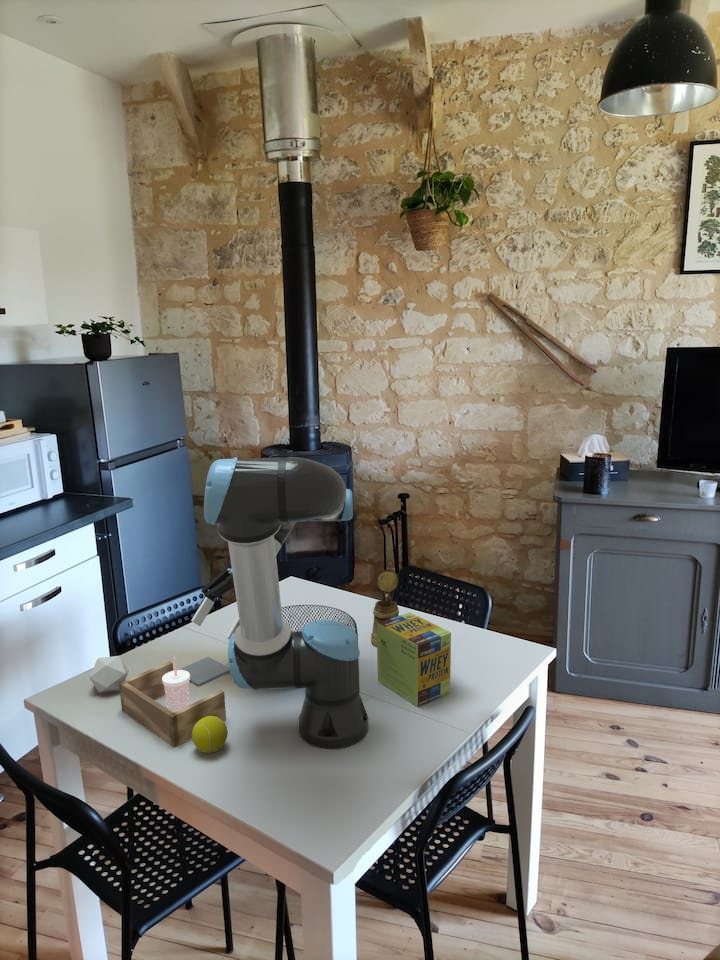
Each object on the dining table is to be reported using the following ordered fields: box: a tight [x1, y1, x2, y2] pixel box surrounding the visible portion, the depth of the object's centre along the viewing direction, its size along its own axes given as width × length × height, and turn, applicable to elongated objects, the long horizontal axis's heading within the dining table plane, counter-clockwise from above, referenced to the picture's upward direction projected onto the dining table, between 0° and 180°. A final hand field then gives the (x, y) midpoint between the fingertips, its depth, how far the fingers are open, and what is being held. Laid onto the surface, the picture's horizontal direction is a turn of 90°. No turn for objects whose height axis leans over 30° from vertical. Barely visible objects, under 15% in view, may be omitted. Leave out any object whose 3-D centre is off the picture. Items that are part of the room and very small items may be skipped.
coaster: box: [178, 656, 230, 687], centre depth 175 cm, size 10×10×1 cm
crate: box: [119, 661, 227, 748], centre depth 155 cm, size 13×21×7 cm, turn 48°
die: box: [89, 655, 129, 694], centre depth 167 cm, size 8×9×10 cm
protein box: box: [376, 612, 452, 708], centre depth 164 cm, size 10×15×16 cm
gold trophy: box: [370, 568, 400, 648], centre depth 190 cm, size 9×14×18 cm, turn 173°
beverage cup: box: [162, 655, 190, 713], centre depth 155 cm, size 6×6×14 cm
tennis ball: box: [192, 716, 229, 754], centre depth 142 cm, size 7×7×7 cm
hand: (212, 631), depth 161 cm, fingers open, 13 cm apart
